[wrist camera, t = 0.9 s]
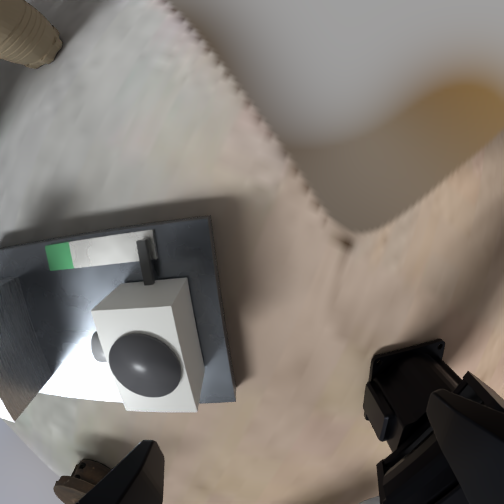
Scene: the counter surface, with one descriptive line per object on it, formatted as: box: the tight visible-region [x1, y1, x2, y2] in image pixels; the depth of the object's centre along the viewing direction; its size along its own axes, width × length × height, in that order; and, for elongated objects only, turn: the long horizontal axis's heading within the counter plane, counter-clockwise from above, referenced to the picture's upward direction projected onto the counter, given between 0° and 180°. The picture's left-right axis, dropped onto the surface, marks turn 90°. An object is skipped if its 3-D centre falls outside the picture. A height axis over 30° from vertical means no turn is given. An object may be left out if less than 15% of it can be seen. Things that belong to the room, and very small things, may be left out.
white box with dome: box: [91, 239, 205, 412], centre depth 15 cm, size 6×8×4 cm, turn 6°
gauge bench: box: [0, 215, 236, 422], centre depth 15 cm, size 18×12×8 cm
